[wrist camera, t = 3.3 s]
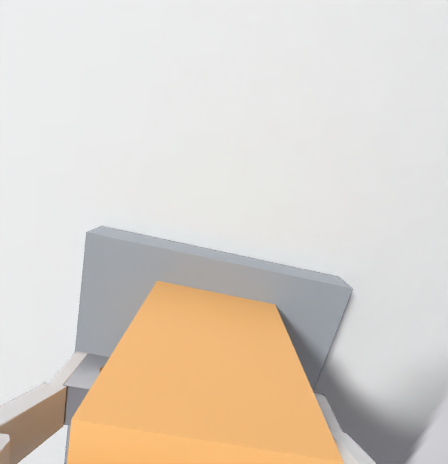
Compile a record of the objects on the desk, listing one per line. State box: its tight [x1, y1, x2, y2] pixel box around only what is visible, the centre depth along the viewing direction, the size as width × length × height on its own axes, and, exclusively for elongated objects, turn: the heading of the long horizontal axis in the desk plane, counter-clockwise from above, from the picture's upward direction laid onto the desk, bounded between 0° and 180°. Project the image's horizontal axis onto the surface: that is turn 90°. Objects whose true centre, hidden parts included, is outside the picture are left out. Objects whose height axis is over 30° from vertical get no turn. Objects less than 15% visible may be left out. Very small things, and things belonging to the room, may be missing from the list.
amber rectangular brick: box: [67, 281, 344, 464], centre depth 9 cm, size 6×6×7 cm
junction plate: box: [64, 226, 353, 464], centre depth 12 cm, size 20×14×6 cm
